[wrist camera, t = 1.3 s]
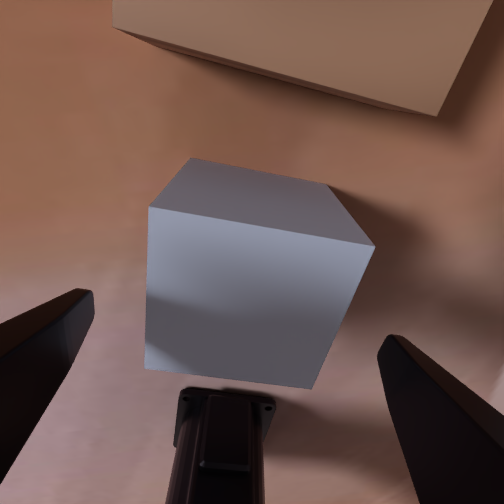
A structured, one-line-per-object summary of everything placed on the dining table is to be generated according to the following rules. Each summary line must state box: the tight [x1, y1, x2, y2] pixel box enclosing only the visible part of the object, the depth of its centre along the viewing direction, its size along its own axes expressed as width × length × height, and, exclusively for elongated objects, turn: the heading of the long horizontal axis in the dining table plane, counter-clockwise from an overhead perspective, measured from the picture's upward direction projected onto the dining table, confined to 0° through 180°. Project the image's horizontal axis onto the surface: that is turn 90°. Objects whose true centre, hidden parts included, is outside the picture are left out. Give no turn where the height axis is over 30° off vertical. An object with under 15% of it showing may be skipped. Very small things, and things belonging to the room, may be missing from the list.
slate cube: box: [144, 158, 375, 389], centre depth 12 cm, size 6×6×6 cm
